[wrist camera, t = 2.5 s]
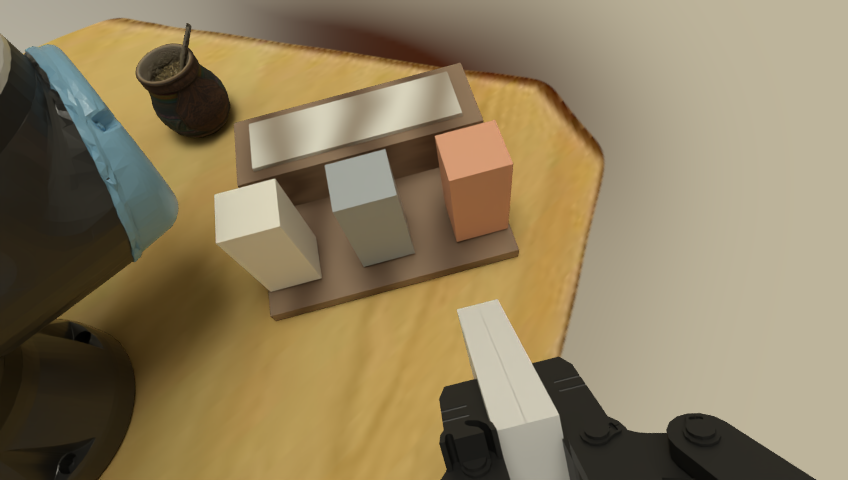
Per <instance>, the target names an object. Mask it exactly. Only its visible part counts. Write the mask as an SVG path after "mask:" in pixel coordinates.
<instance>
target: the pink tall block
mask: <svg viewBox="0 0 848 480" xmlns="http://www.w3.org/2000/svg"><path fill="white" fill-rule="evenodd" d="M435 141H436V148H437V155H438V161H439V168H440V175H441V181H442V188H443V194H444V201H445V205H446V208H447V212H448V215H449V218H450V221H451V225H452V228H453V231H454V234H455V238H456V241H457V242H459V241H463V240H466V239H470V238H474V237H478V236H481V235H485V234H489V233H492V232H496V231H500V230H504V229H507V228H508V221H509V209H510V197H511V185H512V173H513V162H512V160H511V157H510V155H509V152H508V150H507V148H506V145H505V143H504V140H503V138H502V135H501V133H500V131H499V128H498V126H497V123H496V121H495V120H492V121H489V122H485V123H481V124H477V125H474V126H470V127H466V128H462V129H459V130H455V131H451V132H447V133H444V134H440V135H436V136H435Z"/></svg>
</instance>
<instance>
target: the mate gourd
mask: <svg viewBox="0 0 848 480" xmlns="http://www.w3.org/2000/svg"><path fill="white" fill-rule="evenodd" d="M190 32H191V25H190V24H188V23H187V25H186V31H185V35H184V36H185V37H184V42H183V45H181V44H166V45H163V46H160V47H158V48H155V49H153V50H152V51H150V52H149V53H147V54H146V55H145V56H144V57H143V58H142V59H141V60H140V62H139V63H138V65H137V67H136V77H137V79H138V80H139V82H140V83H141V84H142V85H143V87H144V88H145V89H146V90H148V91H149V94H150V96H151V100H152V105H153V108H154V110H155V111H156V114H157V116H158V117H159V118H160V119H161V121H162V122H163V123H164V124H165V125H167V126H168V127H169V128H170V129H172V130H174V131H175V132H177V133H178V134H180V135H183V136H187V137H203V136H207V135H210V134H213V133H214V132H216V131H217V130H219V129H220V128H221V127H222V126H223V125H224V124H225V122H226V121H227V119H228V115H229V111H230V102H229V100H228V94H227V91H226V89H225V87H224V85H223V84H222V82H221V80H219V78H218V77H217V76H215V75H214V74H213V73H212V72H211V71H209V70H207V69H206V68H204V67H203V66H201V65H200V64H199V63H198V60H197V59H196V57H195V56H194V55H193V52H192V51H191V50H190V49H189V48H188V45H189V38H190Z"/></svg>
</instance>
